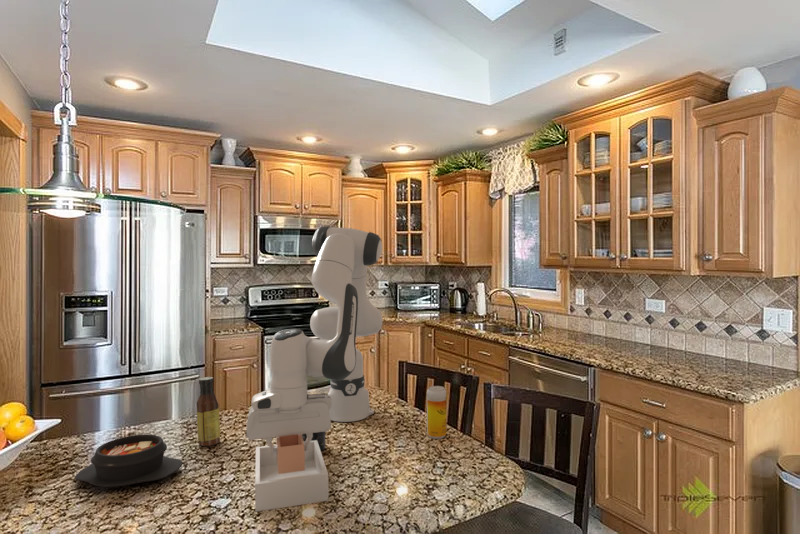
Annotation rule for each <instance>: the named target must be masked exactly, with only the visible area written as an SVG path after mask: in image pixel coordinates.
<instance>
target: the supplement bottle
mask: <svg viewBox="0 0 800 534" xmlns="http://www.w3.org/2000/svg"><path fill="white" fill-rule="evenodd" d="M302 437H303V441H304V442H305V441H306V439H307V435H306V434H302ZM314 440H317V441H318V444H319V448H320V451H321V453H322V452H323V451H325V450H326V431H325V432H316V433H313V437H312V439H311V441H314Z"/></svg>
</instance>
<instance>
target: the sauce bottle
mask: <svg viewBox="0 0 800 534" xmlns="http://www.w3.org/2000/svg"><path fill="white" fill-rule="evenodd" d="M214 382H215V381H214V377H212V376H206V377H201V378H199V379H198V384H199V396H198V399H197V401H196V422H197V424H196V425H197V439H198V444H199V446H202V447H210V446H215V445H216V444H218V443H220V441H221V438H220V437H221V426H220V425H221V424H220V410H219V409H220V408H219V407H220V406H219V403H218V400H217V398H216V395H215V392H214Z"/></svg>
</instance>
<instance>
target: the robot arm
mask: <svg viewBox="0 0 800 534" xmlns="http://www.w3.org/2000/svg"><path fill="white" fill-rule="evenodd" d="M311 246H312V247H311V248H312V252H313V254H314V255H315V256H316V257H317V258H316V260H315V263H314V265H313V266H314V267H313V270H312V274H311V284H312V286H313V289H314V291H315V292H316V293H317V294H318V295H319V296H320V297H322V299H323V298H324V299H325V300H327V301H329V302H331V303H332V304H334V305H336V306H328V307H323V308H319V309H316V310H315V311H314V312H313V313H312V315H311V317H310V321H309V326H310V330H311V332H312V333H313V335H314V336H315V337H316V338H312V337H309V336H307V335H305V333H304V331H303V330H302V329H299V328H288V329H282V330H278V332H276V333H275V334H274V335H273V336H272V339H271V344H270V351H269V370H270V372H271V380H270V382H269V383H270V386H269V387H270V388H268V389H266V390H263V391H261V392H258V393H256V394H254V395H253V396H252V398H251V407H250V409H249V411H248V415H247V421H246V435H245V436H246V438H248V440H250V441H251V440H253V441H254V440H261V439H265V441H266V442H265V443H266V444H267V446H269V447H270V449H271V455H277V445H276V444H273V438H276V437H280V436H289V435H298V434H306V435H307V439H306V441H305V442H304V451H308V444H309V443H310V441H311V439H312V437H313V433H316V432H325V433H326V432H329V430H330V429H331V428H332V421H333V422H340V423H346V422H347V423H349V422H357V421H361V420H364V419H366V418H368V417H369V416H371V415H373V414H374V413H375V409H372V408H371V407H370V393H369V390H368V389H367V388H366V387H365V385H366V384H365V382H366V381H365V375H364V356H363V354H362V352H361V351H360V350H359V349H358V348H356V342H357V340H356V339H357V338H358V337H359V338H360V337H368V336H372V335H375V334H378V333H379V332H380V330H381V328H382V326H383V321H384V320H383V316H382V313H381V311H380V310H379V308H377V307H376V306H374V305H373V303H372V302H370V299H369V297H368V295H367V277H368V266H374V265H375V264H377V263H378V261H379V259H380V258H381V256H382V253H383V243H382V239H381V237H380V236H379V234H377V233H374V232H371V231H369V232H367V231H364V230H361V229H357V228H351V227H349V228H347V227H333V226H332V227H331V226H330V225H327V226H325V225H324V226H320V227H318V228H317V229H316V230H315V232H314V234H313V237H312V242H311ZM307 376H310V377H314V378H315V377H317V378H324V379H327V380H330V382H329V383H330V389H329V391H328V394H326V393H325V392H321V393H311V394H310V393H308V380H307ZM274 445H275V446H274Z"/></svg>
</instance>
